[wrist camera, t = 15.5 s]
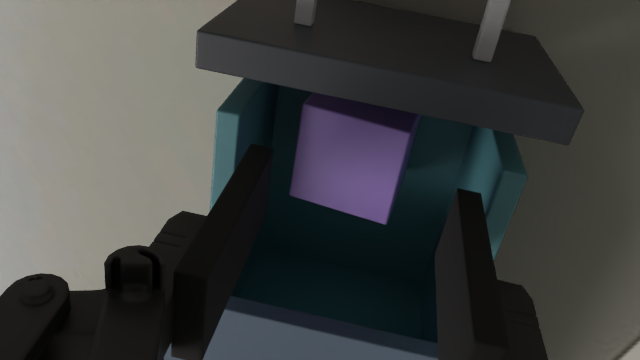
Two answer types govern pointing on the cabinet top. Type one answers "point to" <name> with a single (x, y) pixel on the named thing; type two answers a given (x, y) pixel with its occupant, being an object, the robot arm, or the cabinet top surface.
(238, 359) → the drawer casing
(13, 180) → the cabinet top surface
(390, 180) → the purple cube
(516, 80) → the drawer
